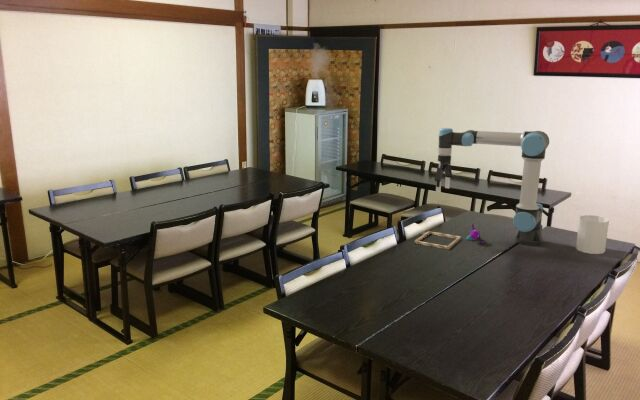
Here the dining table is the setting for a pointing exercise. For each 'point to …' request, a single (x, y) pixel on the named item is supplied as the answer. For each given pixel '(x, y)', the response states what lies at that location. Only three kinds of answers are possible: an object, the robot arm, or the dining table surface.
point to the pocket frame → (424, 234)
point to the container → (592, 234)
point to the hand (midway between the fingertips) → (442, 190)
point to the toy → (474, 234)
